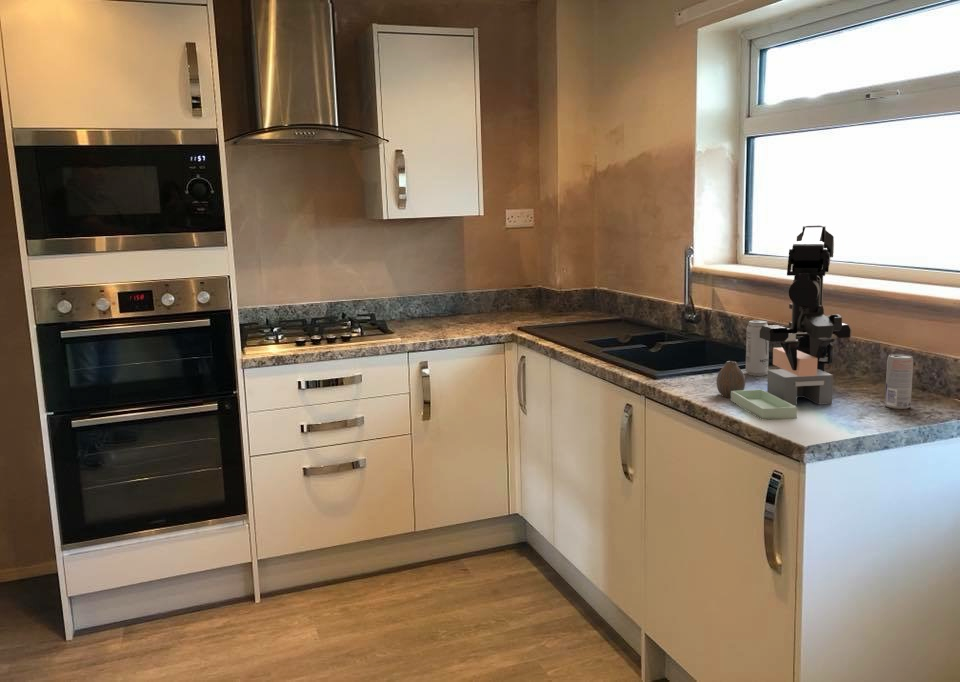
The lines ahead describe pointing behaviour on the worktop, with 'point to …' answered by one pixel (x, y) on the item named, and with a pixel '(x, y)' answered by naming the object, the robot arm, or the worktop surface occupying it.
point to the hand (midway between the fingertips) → (803, 369)
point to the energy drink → (899, 381)
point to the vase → (730, 379)
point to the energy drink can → (756, 349)
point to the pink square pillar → (804, 363)
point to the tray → (764, 404)
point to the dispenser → (800, 386)
